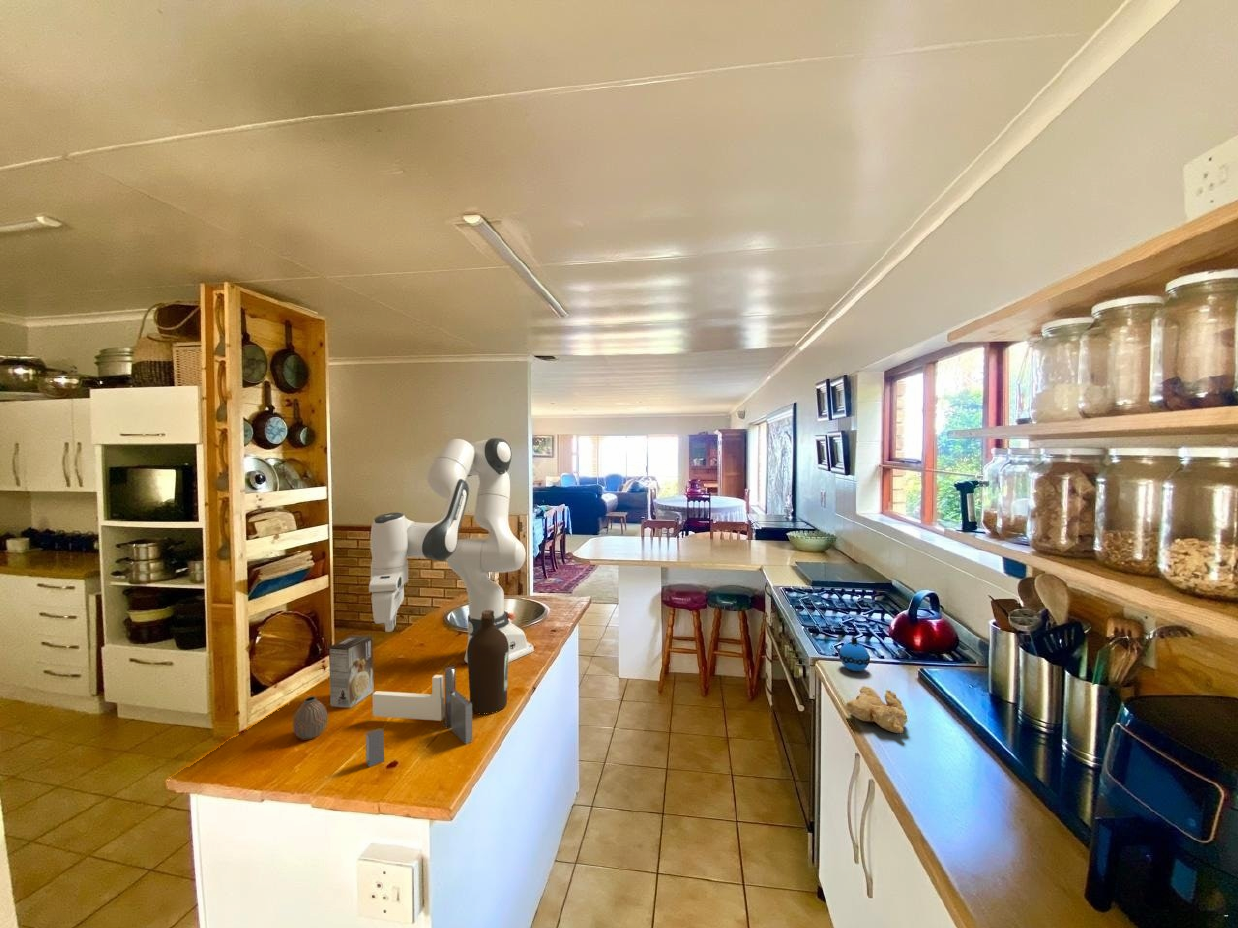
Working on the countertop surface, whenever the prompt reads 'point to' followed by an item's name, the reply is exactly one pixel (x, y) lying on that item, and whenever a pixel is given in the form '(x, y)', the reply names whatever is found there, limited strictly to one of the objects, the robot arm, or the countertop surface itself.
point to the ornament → (854, 656)
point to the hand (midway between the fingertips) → (390, 629)
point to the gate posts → (455, 718)
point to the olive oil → (488, 666)
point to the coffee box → (351, 670)
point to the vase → (310, 719)
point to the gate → (411, 703)
